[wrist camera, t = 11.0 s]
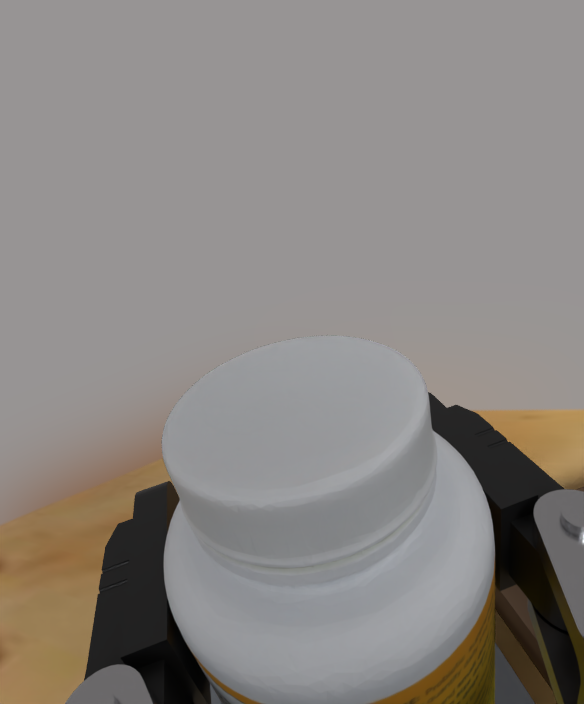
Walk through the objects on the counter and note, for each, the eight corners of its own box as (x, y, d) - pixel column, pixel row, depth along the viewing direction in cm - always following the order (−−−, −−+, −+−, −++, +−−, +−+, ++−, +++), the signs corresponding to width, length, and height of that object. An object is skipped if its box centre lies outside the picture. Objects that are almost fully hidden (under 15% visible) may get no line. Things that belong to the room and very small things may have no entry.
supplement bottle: (479, 623, 13) (474, 300, 8) (514, 933, 8) (555, 604, 3) (296, 601, 14) (201, 325, 10) (238, 844, 10) (0, 546, 5)
